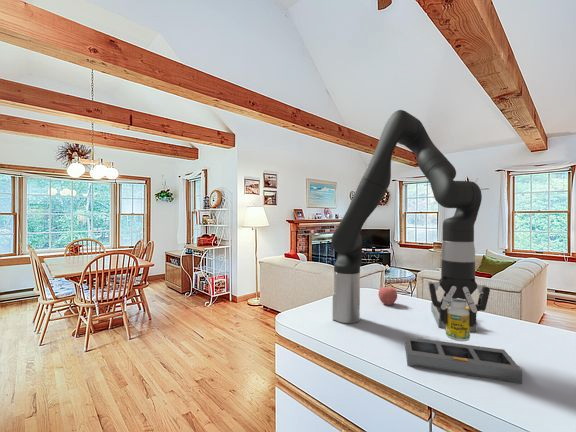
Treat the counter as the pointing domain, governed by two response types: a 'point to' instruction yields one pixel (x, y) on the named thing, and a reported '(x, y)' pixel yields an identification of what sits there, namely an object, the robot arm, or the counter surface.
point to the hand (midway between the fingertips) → (457, 324)
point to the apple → (387, 295)
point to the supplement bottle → (458, 320)
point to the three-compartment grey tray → (462, 359)
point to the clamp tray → (440, 324)
